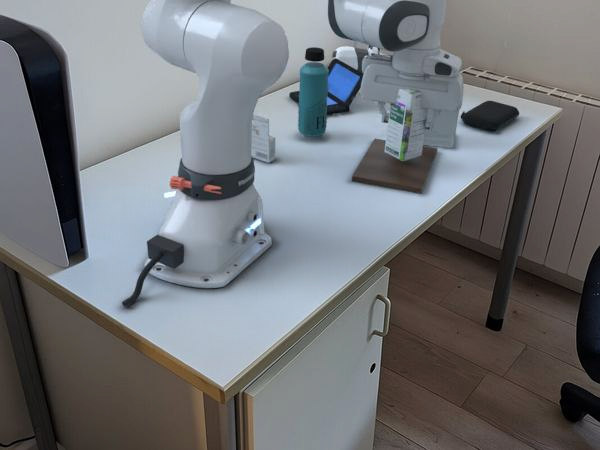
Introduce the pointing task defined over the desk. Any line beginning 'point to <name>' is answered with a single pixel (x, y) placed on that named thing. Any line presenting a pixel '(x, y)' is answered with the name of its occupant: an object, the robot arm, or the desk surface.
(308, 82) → the beverage bottle
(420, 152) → the syrup box
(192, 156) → the robot arm
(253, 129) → the ink cartridge box
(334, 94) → the game console
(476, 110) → the carrying case
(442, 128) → the white packaging box
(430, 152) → the walnut board
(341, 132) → the desk surface
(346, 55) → the giant panda
